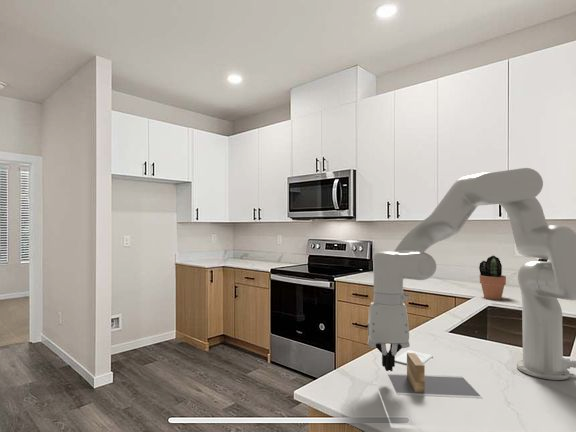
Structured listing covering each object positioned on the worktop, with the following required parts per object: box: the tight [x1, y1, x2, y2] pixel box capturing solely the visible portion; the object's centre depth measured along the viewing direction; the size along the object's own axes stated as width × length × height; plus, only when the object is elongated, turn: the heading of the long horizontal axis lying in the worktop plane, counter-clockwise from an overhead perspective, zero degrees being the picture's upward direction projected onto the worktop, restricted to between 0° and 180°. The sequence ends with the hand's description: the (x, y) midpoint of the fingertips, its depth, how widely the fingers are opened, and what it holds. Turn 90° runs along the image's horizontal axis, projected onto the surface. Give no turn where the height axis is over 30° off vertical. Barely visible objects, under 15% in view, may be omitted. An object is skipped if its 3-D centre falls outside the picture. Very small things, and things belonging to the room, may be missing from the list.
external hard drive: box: [395, 349, 434, 366], centre depth 115 cm, size 2×8×12 cm
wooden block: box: [406, 353, 426, 392], centre depth 96 cm, size 2×9×6 cm, turn 175°
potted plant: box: [478, 255, 507, 301], centre depth 216 cm, size 14×14×25 cm
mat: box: [387, 372, 483, 399], centre depth 96 cm, size 20×13×1 cm, turn 85°
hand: (388, 369), depth 97 cm, fingers closed
